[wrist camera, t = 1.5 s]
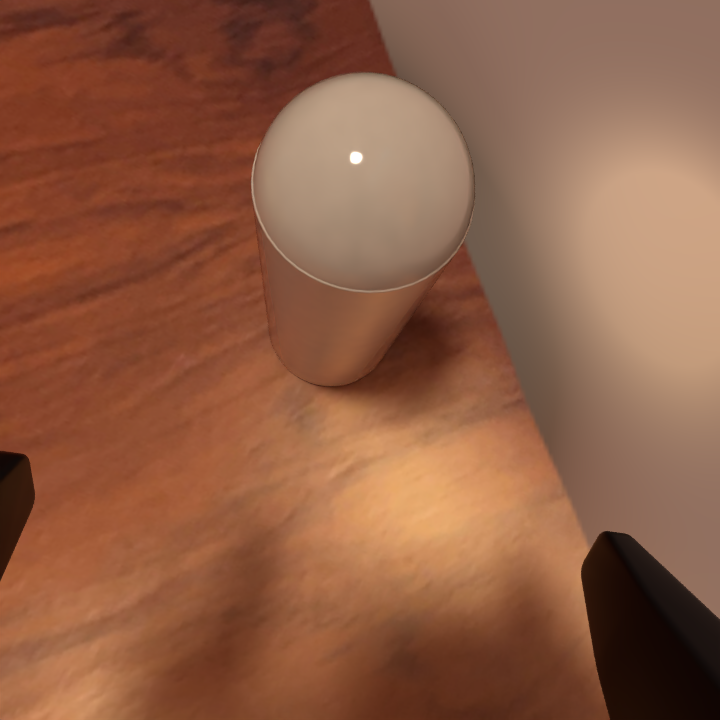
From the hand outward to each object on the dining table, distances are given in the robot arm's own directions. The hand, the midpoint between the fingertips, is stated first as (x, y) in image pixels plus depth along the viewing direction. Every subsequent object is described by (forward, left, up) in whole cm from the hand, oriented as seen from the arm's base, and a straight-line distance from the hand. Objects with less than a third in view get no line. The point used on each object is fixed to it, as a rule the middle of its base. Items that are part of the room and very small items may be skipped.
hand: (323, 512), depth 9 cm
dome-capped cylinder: (+7, -1, -13) cm, 14 cm away
